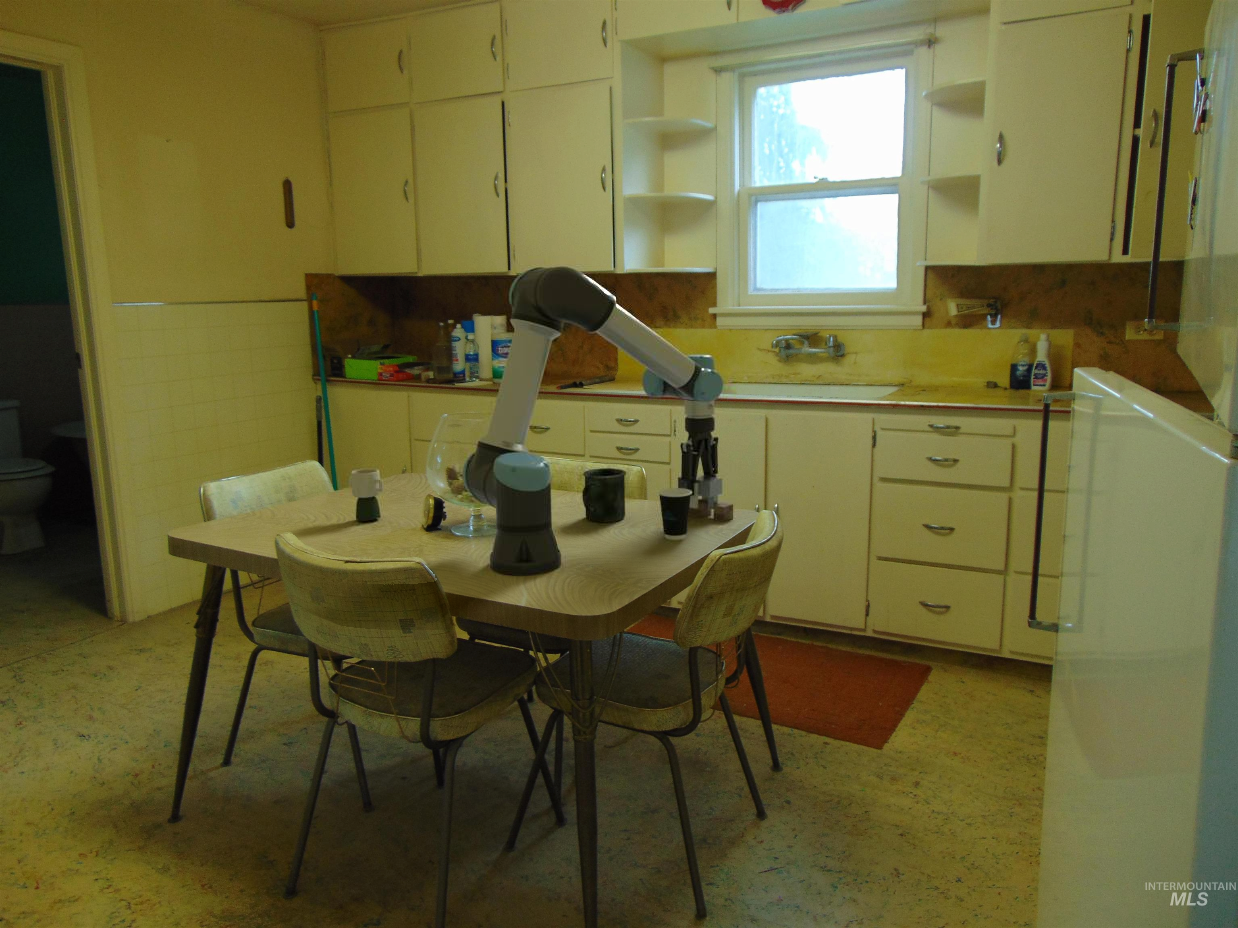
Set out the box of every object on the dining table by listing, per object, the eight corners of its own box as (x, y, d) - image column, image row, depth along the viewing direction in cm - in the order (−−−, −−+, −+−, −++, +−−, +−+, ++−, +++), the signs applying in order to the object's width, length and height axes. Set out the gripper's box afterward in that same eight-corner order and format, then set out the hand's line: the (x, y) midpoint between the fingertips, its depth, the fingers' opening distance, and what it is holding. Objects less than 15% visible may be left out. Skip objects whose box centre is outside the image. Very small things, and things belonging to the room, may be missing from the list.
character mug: (394, 519, 233) (390, 470, 230) (375, 525, 226) (371, 475, 224) (361, 515, 237) (358, 467, 235) (342, 521, 231) (338, 472, 229)
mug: (635, 516, 232) (634, 470, 229) (603, 528, 220) (602, 480, 217) (600, 511, 237) (599, 466, 235) (567, 523, 225) (566, 476, 223)
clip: (722, 506, 230) (722, 478, 229) (709, 510, 226) (709, 481, 225) (690, 501, 237) (690, 473, 235) (678, 505, 233) (677, 477, 231)
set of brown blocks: (724, 521, 224) (724, 507, 224) (667, 511, 236) (667, 497, 235) (733, 518, 227) (733, 504, 227) (676, 508, 239) (676, 494, 238)
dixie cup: (659, 541, 207) (658, 495, 205) (657, 532, 215) (657, 488, 213) (693, 541, 207) (693, 495, 205) (690, 532, 215) (690, 487, 213)
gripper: (690, 421, 218) (690, 514, 222) (732, 412, 231) (732, 500, 236) (665, 419, 222) (666, 510, 227) (708, 410, 236) (708, 496, 241)
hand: (700, 504), depth 231 cm, fingers closed on clip, 5 cm apart
